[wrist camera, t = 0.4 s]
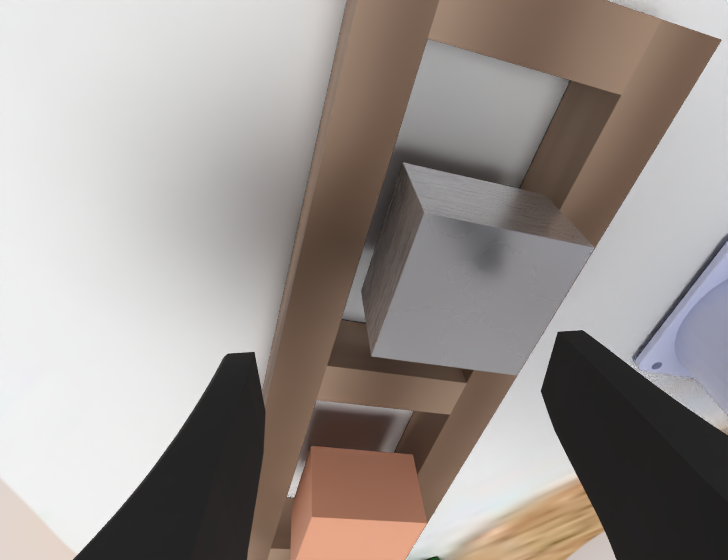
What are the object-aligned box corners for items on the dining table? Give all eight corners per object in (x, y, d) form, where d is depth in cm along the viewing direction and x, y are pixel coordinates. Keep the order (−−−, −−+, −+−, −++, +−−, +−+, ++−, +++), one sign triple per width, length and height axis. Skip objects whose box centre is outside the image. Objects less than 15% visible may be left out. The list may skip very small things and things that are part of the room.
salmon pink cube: (412, 454, 24) (427, 523, 21) (383, 511, 26) (392, 579, 23) (311, 445, 22) (311, 517, 20) (291, 506, 25) (289, 576, 22)
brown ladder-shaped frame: (657, 24, 16) (721, 39, 13) (391, 522, 32) (398, 570, 29) (362, -76, 14) (375, -79, 11) (235, 513, 30) (229, 565, 27)
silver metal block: (545, 194, 16) (594, 247, 13) (486, 311, 19) (516, 375, 16) (402, 162, 15) (424, 212, 12) (361, 291, 18) (371, 356, 15)
